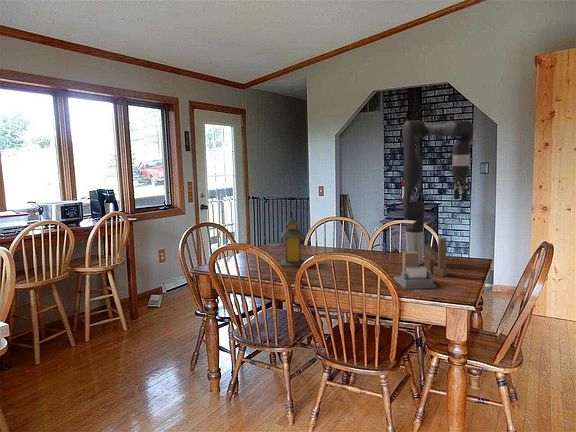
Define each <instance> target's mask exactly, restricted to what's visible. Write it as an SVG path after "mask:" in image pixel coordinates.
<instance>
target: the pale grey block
mask: <svg viewBox="0 0 576 432" xmlns="http://www.w3.org/2000/svg"><path fill="white" fill-rule="evenodd" d="M406 273H407V279H427V268H426V267H424V265H423V266H418V267H406Z"/></svg>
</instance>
